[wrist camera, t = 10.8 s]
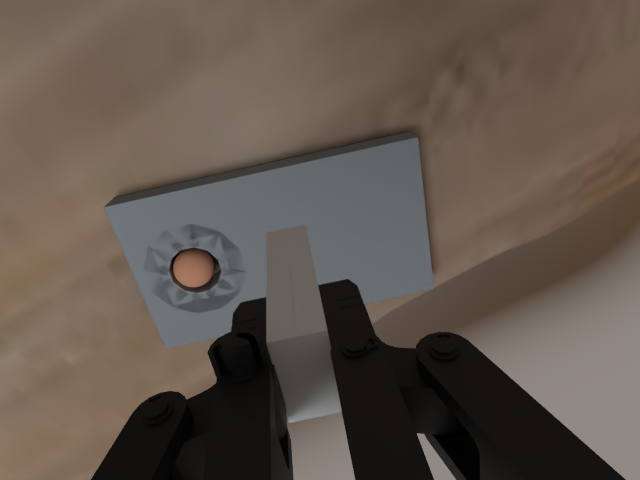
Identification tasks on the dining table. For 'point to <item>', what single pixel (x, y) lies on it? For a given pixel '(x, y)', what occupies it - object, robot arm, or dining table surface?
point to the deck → (275, 214)
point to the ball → (193, 267)
